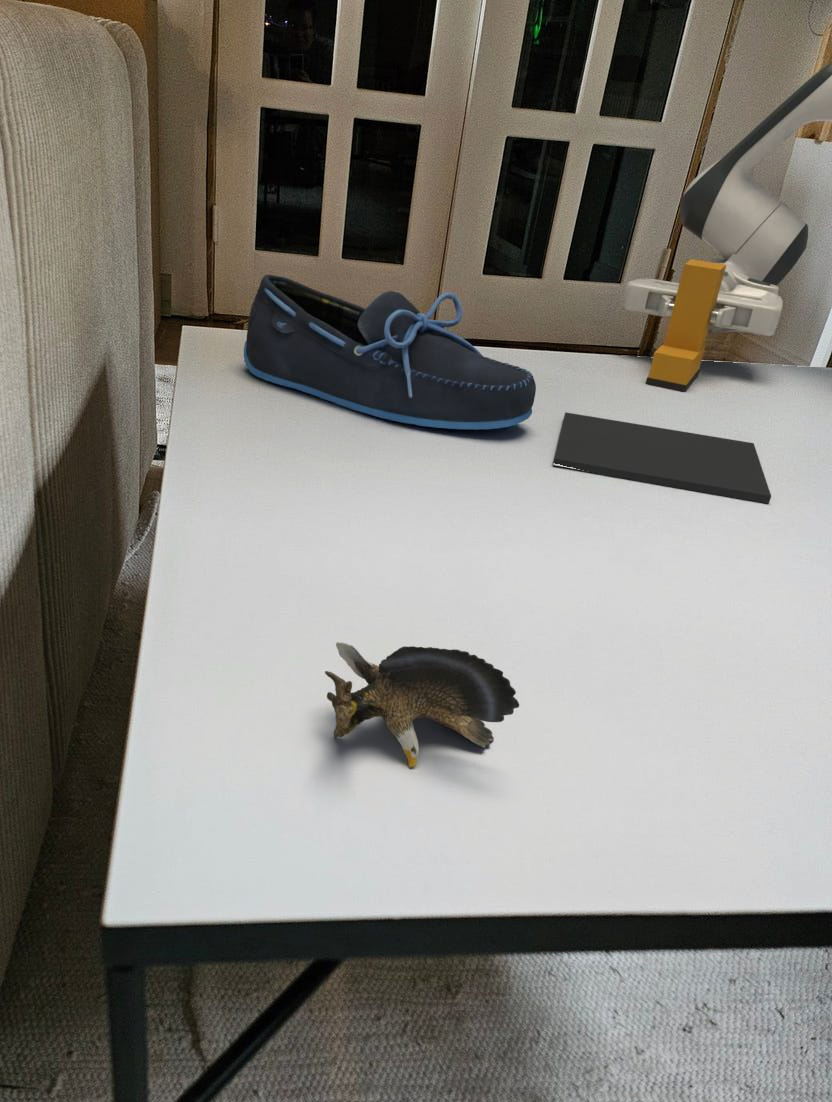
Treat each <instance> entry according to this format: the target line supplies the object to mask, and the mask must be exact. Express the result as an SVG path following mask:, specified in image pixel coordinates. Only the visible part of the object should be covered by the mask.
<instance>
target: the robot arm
mask: <svg viewBox="0 0 832 1102" xmlns="http://www.w3.org/2000/svg"><path fill="white" fill-rule="evenodd" d="M816 122H828V123H832V61H831V62H830V63H828V64H826V65H825V66H824V67H822V68H821V69H820V70H818V71H817V72H815V74H813V75H812V76H811V77H810V78H809V79H808V80H806V81H805V82H804V83H803V84H802V85H801V86H800V87H798V88H797V89H796V90H795V91H794V92H793V93H792V94H791V95H789V96H788V97H787V98H786V99H785V100H784V101H782V103H781V104H779V105H778V106H777V107H776V108H775V109H773V111H772V112H771V113H770V114H769V115H767V116H766V117H765V118H764V119H763V120H762V121H761V122H760V123H759V124H757V125H756V126H755V127H754V128H753V129H752V130H751V131H750V132H749V133H748V134H747V135H746V136H744V138H743V139H742V140H740V141H739V142H738V143H737V144H736V145H735V146H734V147H733V148H731V150H729V151H728V152H727V153H726V154H725V155H723V156H722V157H721V158H719V159H718V160H716V161H715V162H713V163H712V164H710V165H709V166H708V167H706V168H704V169H703V171H701V172H700V173H699V174H698V175H697V176H696V177H695V178H694V179H693V180H692V181H691V182H690V183H689V184H688V185H687V187H686V189H685V191H684V192H683V194H682V197H681V198H680V200H679V211H680V220H681V224H682V227H683V228H684V229H685V230H687V231H688V232H690V233H691V234H693V235H694V236H695V237H697V238H698V239H699V240H703V241H704V242H705V243H706V244H707V245H709V246H710V247H711V248H712V249H713V250H714V251H715V252H717V253H718V254H719V255H720V256H721V257H718V258H714V259H710V260H708V261H707V262H712V263H718V264H724V265H726V268H725V272H724V276H723V279H722V283H721V286H720V290H719V294H718V297H717V301H716V304H715V308H714V309H712V310H711V312H710V316H709V317H710V318H709V319H708V323H707V324H708V325H710V326H709V330H708V333H707V335H708V334H713V333H715V334H724V333H734V334H735V333H736V334H744V335H752V336H753V335H756V336H764V337H765V336H767V337H772V336H774V335H775V333H776V330H777V327H778V324H779V321H780V317H781V314H782V310H783V305H784V302H783V299H782V297H781V296H780V295H779V289H780V288H779V284H780V283H781V282H782V281H783V280H784V279H785V278H786V276H788V274H789V273H790V271H792V269H793V268H794V266H795V265H796V264H797V263H798V261H799V260H800V258H801V257H802V256H803V254H804V252H805V251H806V249H807V246H808V239H809V226H808V225H809V224H808V223H807V222H806V221H805V220H804V219H802V218H801V216H799V215H798V214H797V213H796V212H795V211H794V210H793V209H791V208H790V207H789V206H788V205H787V204H785V203H784V202H782V201H781V200H780V199H778V198H777V197H776V196H775V195H774V194H773V193H772V192H770V191H769V190H768V189H767V188H766V187H765V186H763V184H761V183H760V182H759V181H758V180H757V179H756V178H755V176H754V173H753V172H754V169H755V168H756V167H757V166H758V165H759V164H760V163H761V162H763V160H764V159H766V158H767V157H768V156H769V155H770V154H771V153H773V152H774V151H775V150H776V149H778V147H779V146H781V144H783V143H784V142H785V141H786V140H787V139H788V138H790V137H791V136H792V135H793V134H795V132H796V131H798V130H799V129H801V128H802V127H804V126H805V125H808V124H811V123H816ZM679 283H680V282H674V281H668V280H663V279H657V278H647V277H645V278H643V277H641V278H635V279H632V280H630V281H628V282H627V283H626V284H625V287H624V292H623V295H622V300H621V308H623V309H624V310H626V311H628V312H635V313H641V314H646V315H652V316H657V317H663V318H666V319H667V318H668V319H670V318H671V314H672V310H673V306H674V302H675V299H676V295H677V291H678V287H679Z"/></svg>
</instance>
